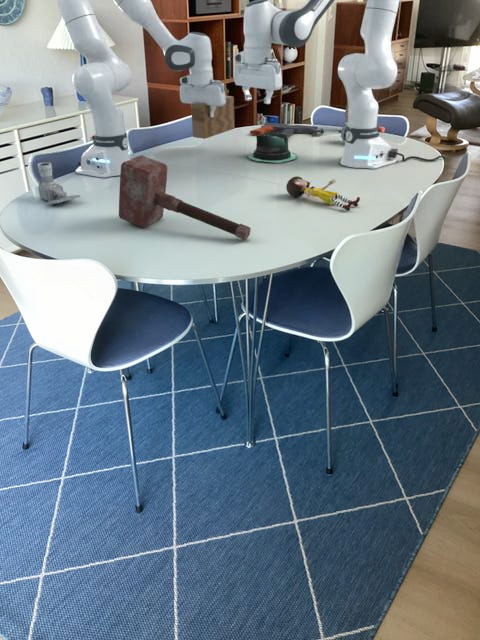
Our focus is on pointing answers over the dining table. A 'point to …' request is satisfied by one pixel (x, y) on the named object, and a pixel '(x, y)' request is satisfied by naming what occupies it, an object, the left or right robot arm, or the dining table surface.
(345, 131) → the toy
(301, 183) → the figurine
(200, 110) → the box
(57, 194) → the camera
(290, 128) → the submachine gun
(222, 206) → the dining table surface
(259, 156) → the green dome on base
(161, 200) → the sledgehammer
